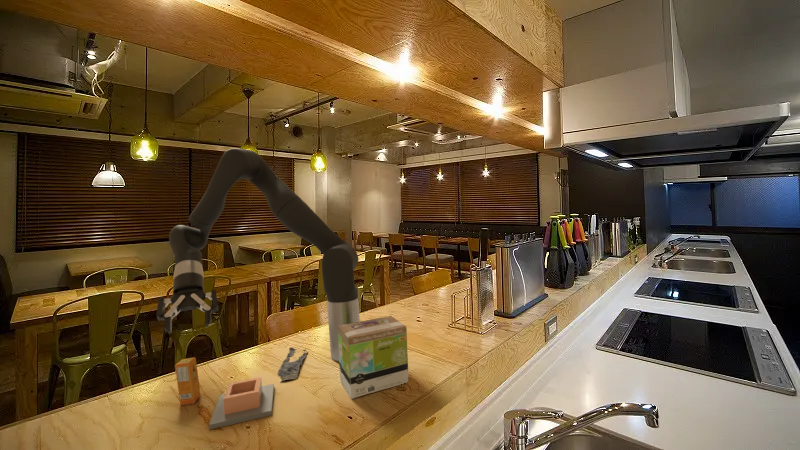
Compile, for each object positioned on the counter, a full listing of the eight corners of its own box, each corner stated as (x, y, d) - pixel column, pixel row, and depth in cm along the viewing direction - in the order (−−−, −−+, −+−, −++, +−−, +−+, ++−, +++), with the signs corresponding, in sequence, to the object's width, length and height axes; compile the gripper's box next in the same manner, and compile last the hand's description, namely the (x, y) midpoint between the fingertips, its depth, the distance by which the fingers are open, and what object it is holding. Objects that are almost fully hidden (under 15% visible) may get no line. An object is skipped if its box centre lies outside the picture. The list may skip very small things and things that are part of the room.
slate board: (274, 387, 83) (273, 383, 83) (271, 415, 72) (271, 410, 72) (220, 398, 79) (220, 394, 79) (209, 429, 68) (208, 424, 68)
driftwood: (297, 383, 86) (296, 375, 86) (270, 386, 85) (269, 378, 85) (311, 350, 106) (311, 344, 106) (289, 352, 106) (289, 346, 106)
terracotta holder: (262, 391, 80) (261, 376, 80) (259, 407, 73) (258, 391, 73) (230, 397, 78) (229, 383, 77) (224, 414, 71) (223, 399, 71)
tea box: (351, 401, 75) (347, 337, 74) (339, 381, 84) (336, 324, 84) (410, 383, 82) (407, 324, 81) (393, 366, 91) (390, 313, 90)
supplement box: (186, 398, 80) (182, 357, 80) (200, 396, 81) (197, 356, 80) (178, 406, 77) (174, 364, 77) (193, 404, 77) (189, 362, 77)
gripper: (156, 275, 92) (153, 327, 82) (215, 268, 99) (218, 315, 89) (161, 290, 97) (158, 341, 87) (217, 282, 104) (219, 329, 94)
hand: (188, 328), depth 88 cm, fingers open, 8 cm apart
